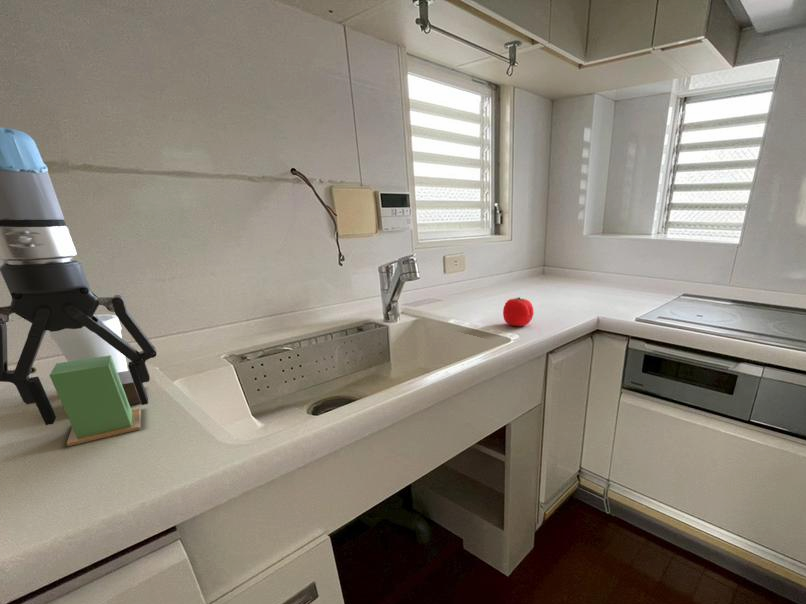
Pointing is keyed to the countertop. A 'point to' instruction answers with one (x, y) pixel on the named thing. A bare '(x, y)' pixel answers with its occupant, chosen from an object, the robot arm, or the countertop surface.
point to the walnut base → (129, 387)
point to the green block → (92, 395)
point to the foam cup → (90, 343)
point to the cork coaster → (134, 426)
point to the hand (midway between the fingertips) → (100, 410)
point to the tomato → (518, 312)
